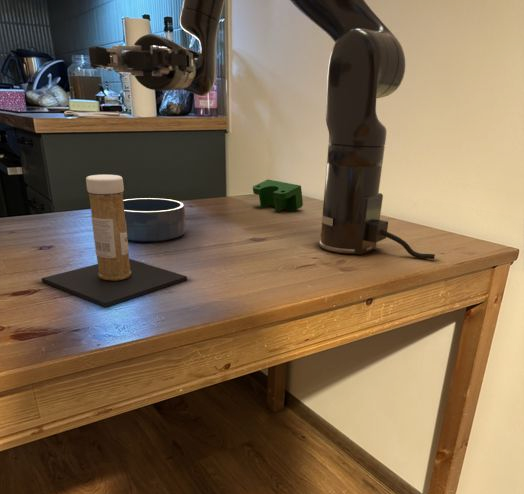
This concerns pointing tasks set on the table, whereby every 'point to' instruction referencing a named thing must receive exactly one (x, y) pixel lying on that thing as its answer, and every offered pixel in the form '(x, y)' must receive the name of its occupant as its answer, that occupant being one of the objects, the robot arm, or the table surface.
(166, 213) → the bowl
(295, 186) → the clamp
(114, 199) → the sprinkles bottle
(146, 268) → the mat
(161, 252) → the table surface
